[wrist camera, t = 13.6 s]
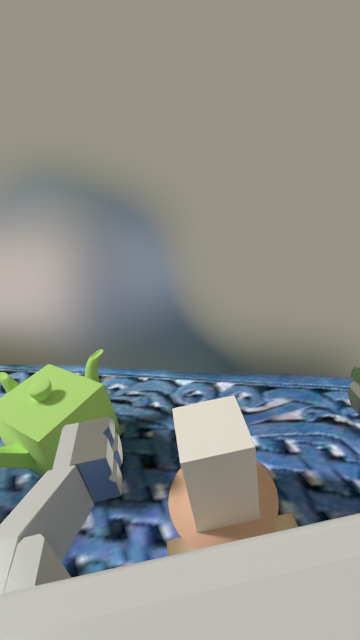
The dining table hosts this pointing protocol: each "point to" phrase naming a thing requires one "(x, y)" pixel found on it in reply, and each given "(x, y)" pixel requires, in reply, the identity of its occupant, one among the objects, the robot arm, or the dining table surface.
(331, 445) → the dining table surface
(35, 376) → the kettle
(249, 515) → the tall cream pillar
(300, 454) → the dining table surface
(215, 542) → the coaster
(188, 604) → the robot arm
